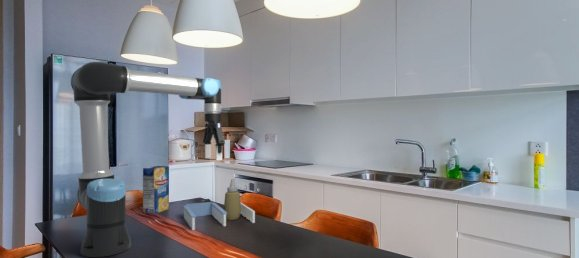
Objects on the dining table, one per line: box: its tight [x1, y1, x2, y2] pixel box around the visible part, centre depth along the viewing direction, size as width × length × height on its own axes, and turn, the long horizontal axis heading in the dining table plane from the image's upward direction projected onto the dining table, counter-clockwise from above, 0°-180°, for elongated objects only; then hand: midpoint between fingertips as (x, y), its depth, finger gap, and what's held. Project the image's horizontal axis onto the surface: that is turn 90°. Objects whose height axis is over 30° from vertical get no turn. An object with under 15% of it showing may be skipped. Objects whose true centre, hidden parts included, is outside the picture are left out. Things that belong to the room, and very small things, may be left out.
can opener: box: [198, 198, 212, 203], centre depth 171 cm, size 18×7×6 cm, turn 157°
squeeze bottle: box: [223, 178, 242, 221], centre depth 158 cm, size 8×8×18 cm
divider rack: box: [182, 201, 256, 231], centre depth 155 cm, size 23×27×6 cm
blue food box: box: [142, 165, 170, 215], centre depth 173 cm, size 7×11×22 cm, turn 162°
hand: (213, 159), depth 158 cm, fingers open, 13 cm apart
